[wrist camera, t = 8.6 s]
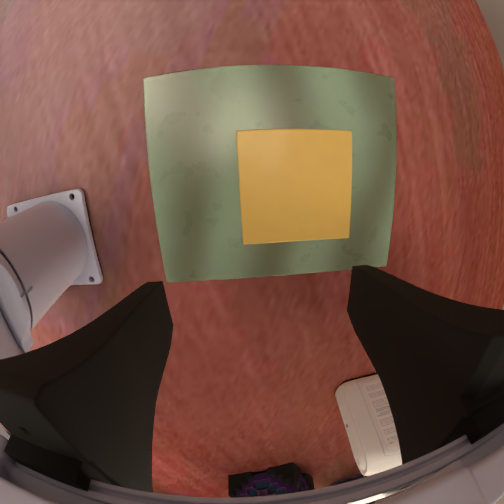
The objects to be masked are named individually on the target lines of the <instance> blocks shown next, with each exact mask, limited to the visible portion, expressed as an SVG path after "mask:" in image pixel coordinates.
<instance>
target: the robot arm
mask: <svg viewBox="0 0 504 504" xmlns="http://www.w3.org/2000/svg"><path fill="white" fill-rule="evenodd" d="M72 193H73V194H74V196H75V197H74V199H73V198H72ZM17 209H18V210H17ZM7 215H8V218H6V219H5V220H3V221H1V222H0V423H1V424H2V425H3V426H4V427H5V428H6V429H7V430H8V431H9V432H10V433H11V436H10V438H9V441H8V440H7V439H6V438H5V437H3V436H2V435H0V504H366V503H369V502H372V501H376V500H378V499H381V498H384V497H387V496H389V495H392V494H395V493H397V492H400V491H402V490H405V489H407V488H408V489H407V491H406V492H403V493H401V494H398V495H396V496H393V497H391V498H388V499H385V500H383V501H380V502H377V503H374V504H495V503H496V502H497V501H498V500H499V499H500V498H502V497H503V496H504V310H500V309H492V308H485V307H480V306H475V305H470V304H466V303H462V302H458V301H455V300H451V299H448V298H445V297H442V296H439V295H436V294H434V293H431V292H429V291H426V290H424V289H421V288H419V287H417V286H414V285H412V284H410V283H408V282H406V281H403V280H401V279H399V278H397V277H395V276H393V275H391V274H388V273H386V272H384V271H382V270H380V269H377V268H375V267H372V266H369V265H359V266H352V275H351V284H350V292H349V300H348V307H347V312H348V314H349V317H350V320H351V323H352V325H353V328H354V330H355V332H356V334H357V336H358V338H359V340H360V342H361V344H362V345H363V347H364V349H365V351H366V353H367V355H368V356H369V358H370V360H371V362H372V364H373V366H374V368H375V370H376V371H377V374H378V376H379V378H380V380H381V383H382V386H383V388H384V391H385V394H386V397H387V400H388V403H389V406H390V409H391V413H392V416H393V420H394V424H395V428H396V432H397V436H398V441H399V447H400V452H401V459H402V465H400V466H397V467H394V468H392V469H389V470H386V471H383V472H380V473H377V474H374V475H371V476H367V477H364V478H361V479H357V480H353V481H350V482H346V483H342V484H338V485H333V486H329V487H324V488H319V489H314V490H308V491H302V492H296V493H288V494H280V495H271V496H258V497H238V498H210V497H189V496H177V495H168V494H160V493H153V488H152V438H153V424H154V415H155V406H156V400H157V395H158V390H159V387H160V383H161V379H162V376H163V372H164V368H165V365H166V361H167V357H168V354H169V350H170V346H171V339H172V331H173V322H172V318H171V315H170V311H169V307H168V302H167V298H166V294H165V290H164V285H163V281H159V282H147V283H145V284H144V285H142V286H140V287H139V288H138V289H136V290H135V291H134V292H132V293H131V294H130V295H128V296H127V297H126V298H124V299H123V300H122V301H120V302H119V303H118V304H116V305H115V306H114V307H112V308H111V309H109V310H108V311H107V312H105V313H104V314H102V315H101V316H99V317H98V318H97V319H95V320H94V321H92V322H91V323H89V324H87V325H86V326H84V327H82V328H81V329H79V330H77V331H75V332H74V333H72V334H70V335H68V336H66V337H64V338H61V339H59V340H57V341H55V342H53V343H51V344H49V345H46V346H44V347H41V348H38V349H36V350H33V351H30V352H28V351H29V349H30V348H31V347H32V345H33V344H34V341H33V339H32V337H31V333H30V332H31V330H32V329H33V328H34V327H35V325H36V324H37V323H38V322H39V321H40V319H41V318H42V317H43V316H44V315H45V313H46V312H47V311H48V310H49V309H50V307H51V306H52V305H53V304H54V303H55V302H56V301H57V299H58V298H59V297H60V296H61V295H62V294H63V293H64V292H65V290H66V289H67V288H68V287H69V286H70V285H86V284H100V283H101V282H102V281H103V276H102V272H101V269H100V265H99V261H98V257H97V254H96V250H95V245H94V241H93V237H92V232H91V228H90V223H89V218H88V213H87V208H86V202H85V196H84V192H83V190H82V189H79V188H78V189H73V190H68V191H64V192H59V193H55V194H50V195H46V196H42V197H38V198H34V199H30V200H26V201H22V202H19V203H15V204H11V205H9V206H8V207H7ZM91 277H93V278H94V280H93V279H92V278H91Z"/></svg>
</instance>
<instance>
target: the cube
mask: <svg viewBox="0 0 504 504" xmlns="http://www.w3.org/2000/svg"><path fill="white" fill-rule="evenodd" d="M236 140H237V157H238V174H239V191H240V207H241V223H242V238H243V244H260V243H276V242H291V241H308V240H324V239H341V238H349V231H350V215H351V194H352V131H347V130H328V129H257V130H237V131H236Z"/></svg>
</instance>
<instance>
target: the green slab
mask: <svg viewBox="0 0 504 504" xmlns="http://www.w3.org/2000/svg"><path fill="white" fill-rule="evenodd" d="M143 91H144V113H145V129H146V142H147V153H148V164H149V173H150V182H151V190H152V197H153V205H154V212H155V219H156V225H157V231H158V237H159V243H160V249H161V254H162V260H163V265H164V270H165V275H166V280H167V282H185V281H203V280H220V279H236V278H251V277H266V276H279V275H292V274H305V273H317V272H329V271H340V270H351V269H352V266H359V265H369V266H372V267H382V266H386V265H387V259H388V252H389V244H390V237H391V228H392V219H393V208H394V196H395V180H396V147H397V134H396V102H395V87H394V78H393V77H388V76H383V75H378V74H372V73H366V72H360V71H353V70H346V69H337V68H328V67H316V66H300V65H240V66H224V67H212V68H202V69H194V70H186V71H179V72H173V73H167V74H161V75H156V76H151V77H146V78H143ZM257 129H328V130H347V131H352V194H351V215H350V231H349V238H341V239H324V240H308V241H291V242H276V243H260V244H243V238H242V223H241V207H240V191H239V174H238V157H237V140H236V131H237V130H257Z"/></svg>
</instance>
